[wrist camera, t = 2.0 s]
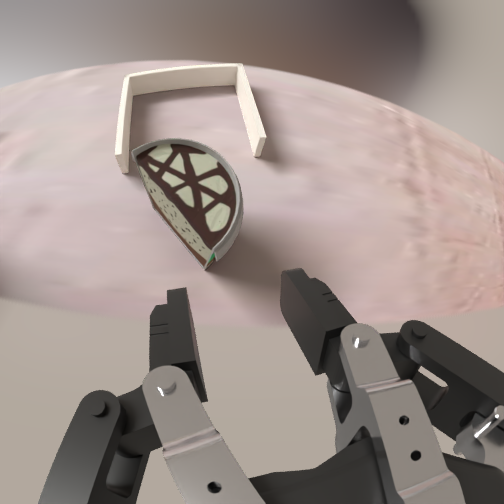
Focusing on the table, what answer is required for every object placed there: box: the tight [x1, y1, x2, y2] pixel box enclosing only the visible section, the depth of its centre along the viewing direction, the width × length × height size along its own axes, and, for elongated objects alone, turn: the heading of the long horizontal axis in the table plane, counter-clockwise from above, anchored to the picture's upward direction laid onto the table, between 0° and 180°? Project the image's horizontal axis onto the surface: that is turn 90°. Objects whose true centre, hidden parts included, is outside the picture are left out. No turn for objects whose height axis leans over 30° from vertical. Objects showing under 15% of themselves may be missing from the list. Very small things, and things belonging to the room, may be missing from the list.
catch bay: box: [115, 64, 266, 174], centre depth 33 cm, size 18×16×4 cm
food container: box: [131, 138, 243, 270], centre depth 26 cm, size 12×6×10 cm, turn 43°
